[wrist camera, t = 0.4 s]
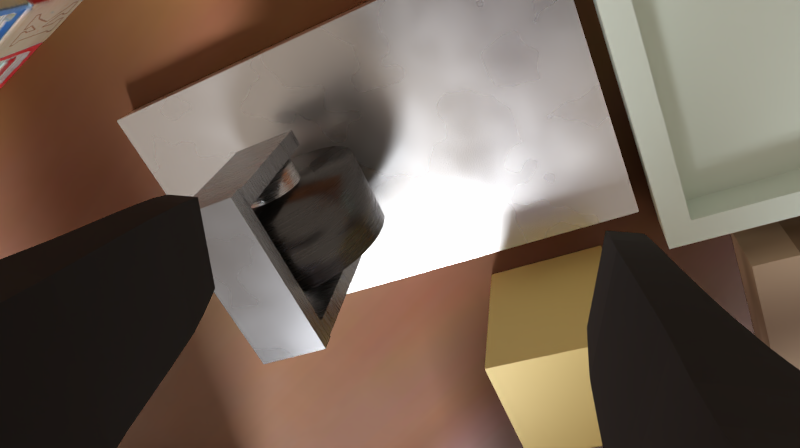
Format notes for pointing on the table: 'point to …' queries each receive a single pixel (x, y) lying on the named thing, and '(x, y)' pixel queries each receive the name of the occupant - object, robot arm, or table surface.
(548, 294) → the pale yellow cube
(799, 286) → the socket
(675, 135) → the tray
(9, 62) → the stack of blocks
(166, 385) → the table surface
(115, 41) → the table surface
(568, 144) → the trolley wheel
